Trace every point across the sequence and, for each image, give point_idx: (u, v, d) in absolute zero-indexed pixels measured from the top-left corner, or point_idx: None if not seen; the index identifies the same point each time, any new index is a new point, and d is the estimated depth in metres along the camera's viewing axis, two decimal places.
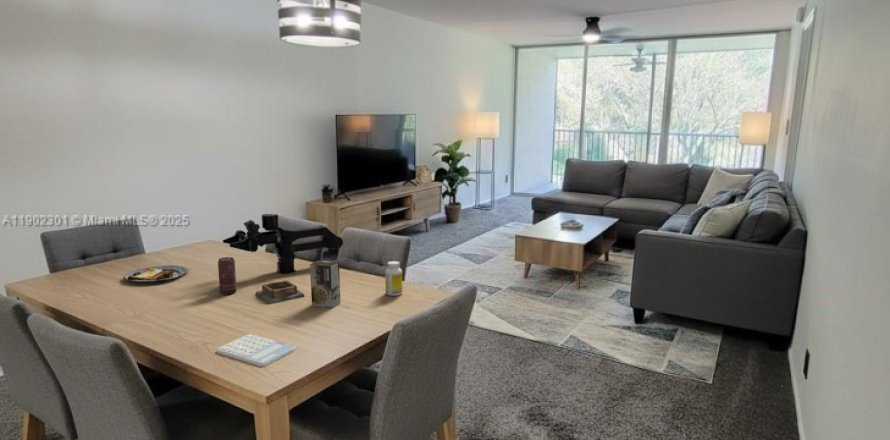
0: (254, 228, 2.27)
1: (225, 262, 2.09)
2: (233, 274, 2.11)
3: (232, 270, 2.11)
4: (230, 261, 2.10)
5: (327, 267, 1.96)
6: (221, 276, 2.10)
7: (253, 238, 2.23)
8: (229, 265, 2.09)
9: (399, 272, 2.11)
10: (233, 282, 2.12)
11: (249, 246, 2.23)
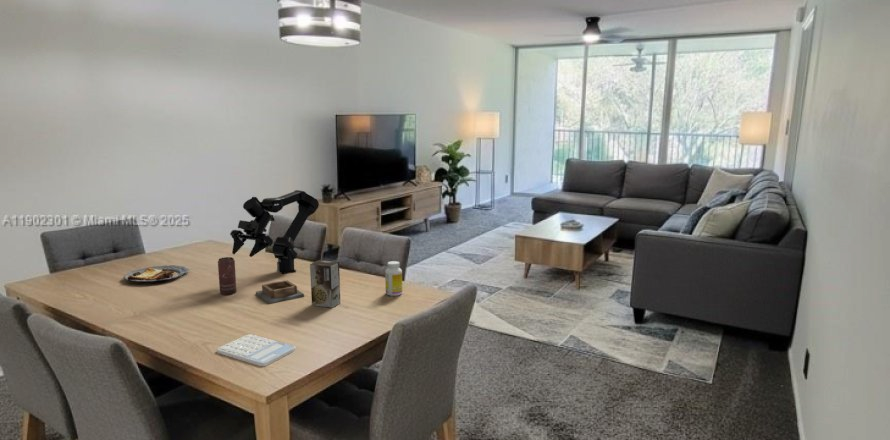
0: (254, 226, 2.18)
1: (225, 262, 2.09)
2: (233, 274, 2.11)
3: (232, 270, 2.11)
4: (230, 261, 2.10)
5: (327, 267, 1.96)
6: (221, 276, 2.10)
7: (264, 236, 2.17)
8: (229, 265, 2.09)
9: (399, 272, 2.11)
10: (233, 282, 2.12)
11: (265, 244, 2.19)
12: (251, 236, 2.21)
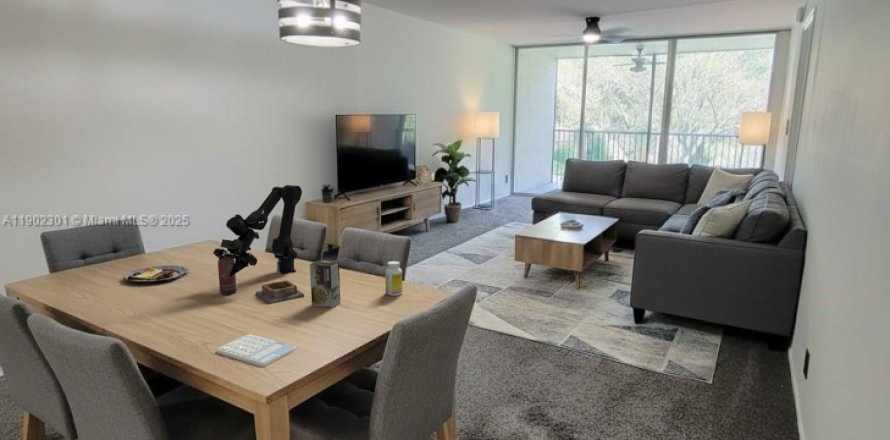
0: (237, 245, 2.10)
1: (225, 262, 2.09)
2: None
3: None
4: (230, 261, 2.10)
5: (327, 267, 1.96)
6: (221, 276, 2.10)
7: (248, 256, 2.10)
8: (229, 265, 2.09)
9: (399, 272, 2.11)
10: (233, 282, 2.12)
11: (246, 263, 2.13)
12: (238, 256, 2.14)
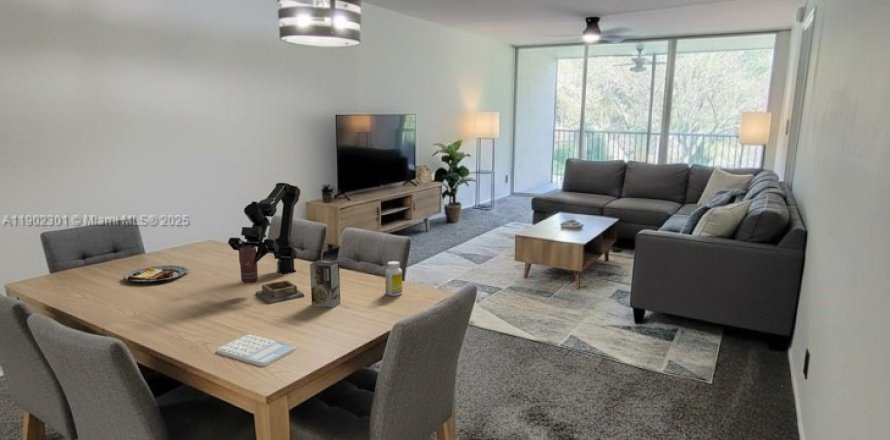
0: (259, 232, 2.08)
1: (249, 250, 2.05)
2: None
3: None
4: (253, 248, 2.07)
5: (327, 267, 1.96)
6: (245, 264, 2.06)
7: (273, 242, 2.09)
8: (253, 252, 2.06)
9: (399, 272, 2.11)
10: (256, 270, 2.09)
11: (268, 249, 2.11)
12: (258, 243, 2.11)
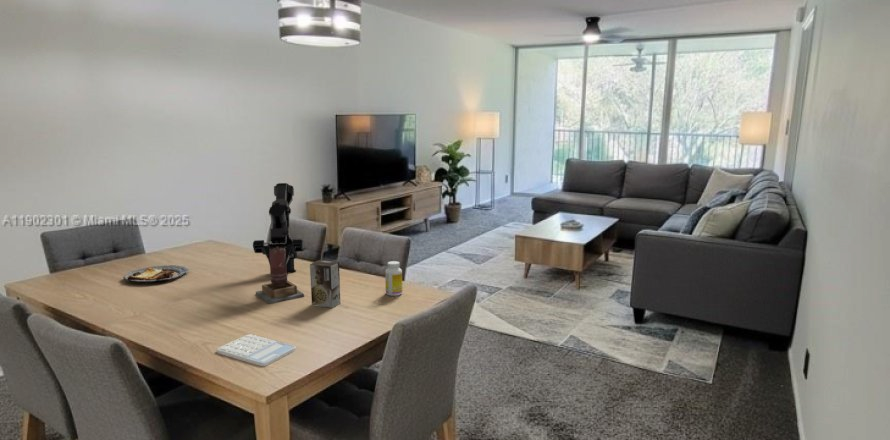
0: (288, 233, 2.10)
1: (282, 251, 2.06)
2: None
3: None
4: (284, 249, 2.08)
5: (327, 267, 1.96)
6: (277, 266, 2.06)
7: (302, 241, 2.12)
8: (284, 253, 2.08)
9: (399, 272, 2.11)
10: (286, 270, 2.10)
11: (294, 249, 2.13)
12: (285, 244, 2.12)
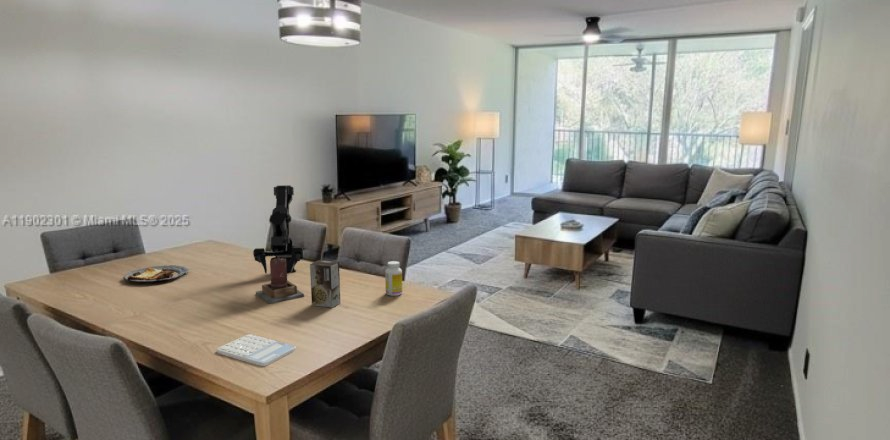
0: (289, 241, 2.10)
1: (282, 261, 2.07)
2: (286, 272, 2.11)
3: (286, 268, 2.10)
4: (285, 259, 2.09)
5: (327, 267, 1.96)
6: (278, 276, 2.07)
7: (302, 249, 2.13)
8: (285, 263, 2.09)
9: (399, 272, 2.11)
10: None
11: (300, 257, 2.14)
12: (280, 252, 2.12)
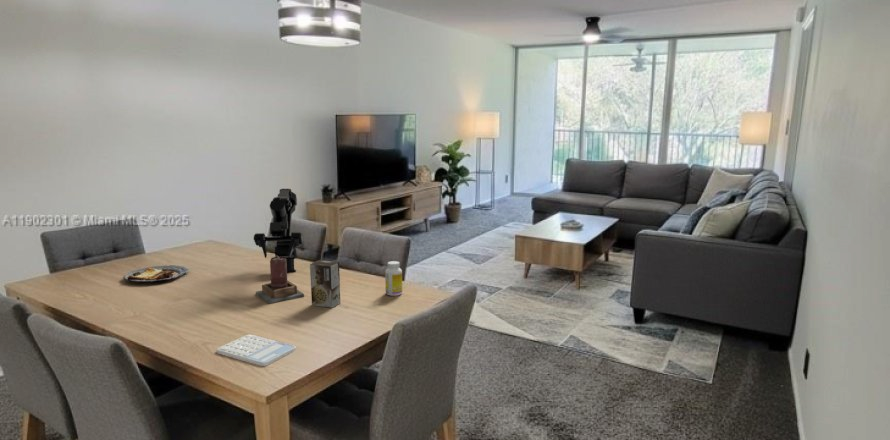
0: (287, 226, 2.18)
1: (282, 261, 2.07)
2: (286, 272, 2.11)
3: (286, 268, 2.10)
4: (285, 259, 2.09)
5: (327, 267, 1.96)
6: (278, 276, 2.07)
7: (300, 235, 2.20)
8: (285, 263, 2.09)
9: (399, 272, 2.11)
10: None
11: (298, 242, 2.22)
12: (280, 237, 2.20)
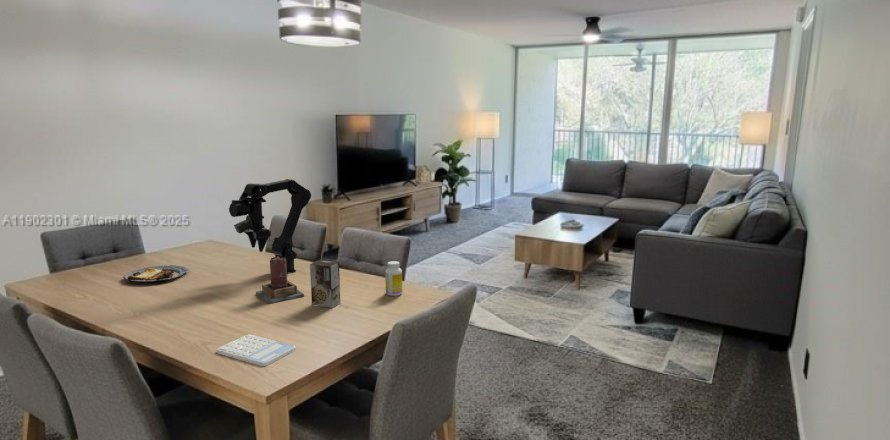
0: (245, 228, 2.21)
1: (282, 261, 2.07)
2: (286, 272, 2.11)
3: (286, 268, 2.10)
4: (285, 259, 2.09)
5: (327, 267, 1.96)
6: (278, 276, 2.07)
7: (257, 235, 2.19)
8: (285, 263, 2.09)
9: (399, 272, 2.11)
10: None
11: (264, 237, 2.23)
12: (253, 230, 2.27)
